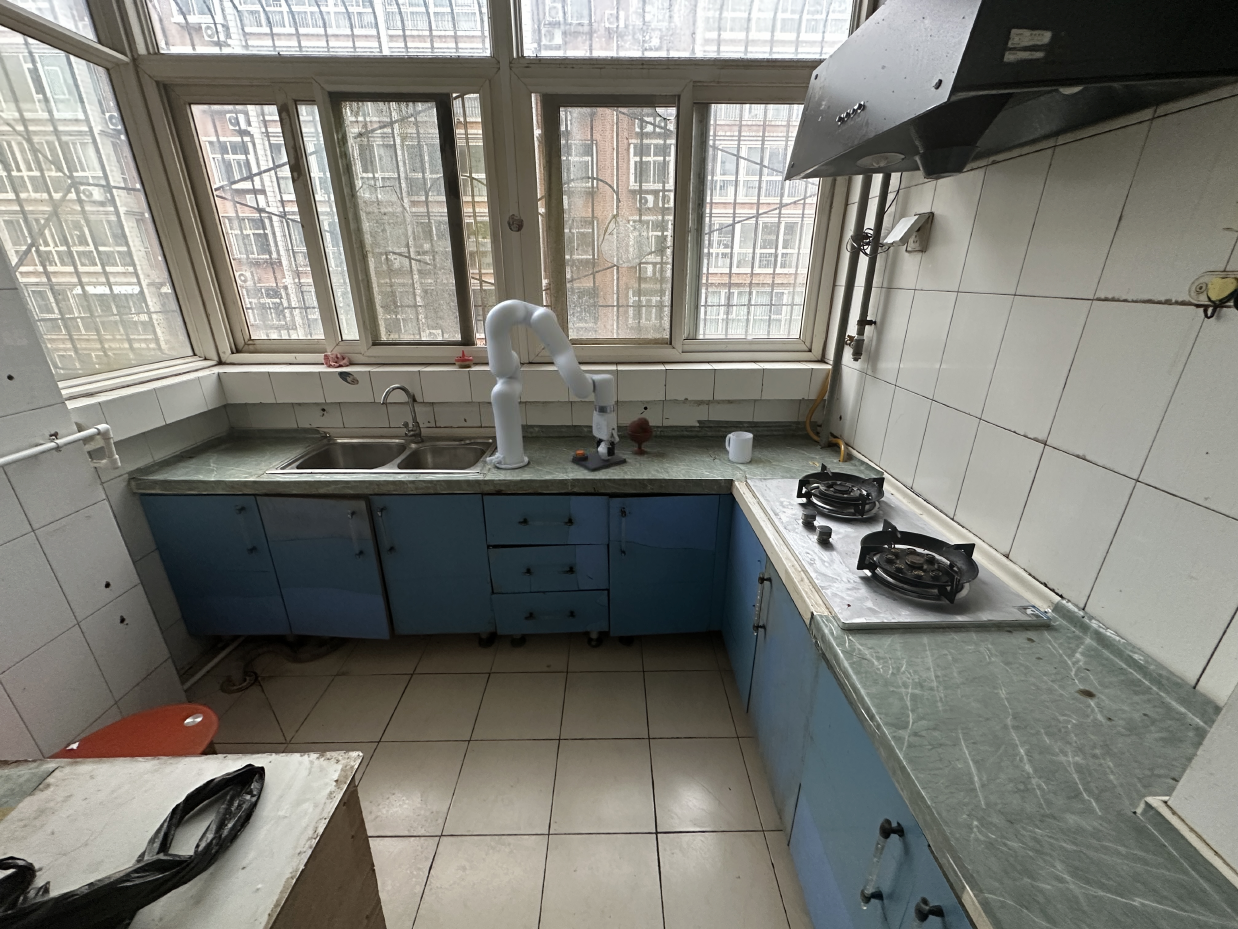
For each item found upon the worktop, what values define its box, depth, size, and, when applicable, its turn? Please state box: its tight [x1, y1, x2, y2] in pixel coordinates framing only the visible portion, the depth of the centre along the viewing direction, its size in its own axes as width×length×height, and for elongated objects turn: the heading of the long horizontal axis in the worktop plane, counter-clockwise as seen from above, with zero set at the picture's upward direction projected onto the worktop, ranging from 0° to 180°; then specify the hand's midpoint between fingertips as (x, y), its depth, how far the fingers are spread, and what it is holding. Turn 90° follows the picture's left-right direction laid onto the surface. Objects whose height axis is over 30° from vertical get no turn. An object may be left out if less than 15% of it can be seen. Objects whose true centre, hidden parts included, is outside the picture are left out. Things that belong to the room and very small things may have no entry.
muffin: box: [598, 440, 610, 460], centre depth 191 cm, size 6×6×7 cm
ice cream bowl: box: [626, 416, 654, 456], centre depth 199 cm, size 11×11×15 cm
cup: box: [725, 431, 754, 464], centre depth 193 cm, size 8×12×10 cm
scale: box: [571, 451, 627, 472], centre depth 192 cm, size 16×14×3 cm
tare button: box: [576, 450, 584, 456], centre depth 192 cm, size 3×3×2 cm
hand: (605, 453), depth 191 cm, fingers closed on muffin, 6 cm apart
